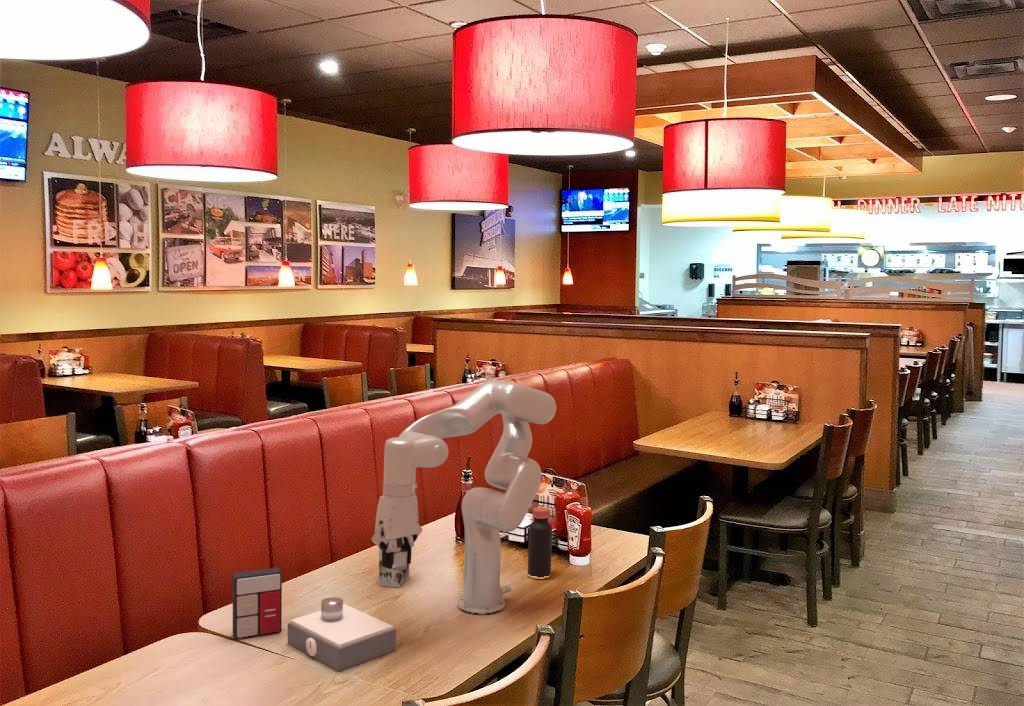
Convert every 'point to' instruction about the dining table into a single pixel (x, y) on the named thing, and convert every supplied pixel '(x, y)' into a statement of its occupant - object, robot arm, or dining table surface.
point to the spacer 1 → (332, 609)
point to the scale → (342, 638)
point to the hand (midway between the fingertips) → (396, 564)
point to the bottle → (540, 543)
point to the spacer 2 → (399, 558)
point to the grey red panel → (257, 602)
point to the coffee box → (392, 576)
